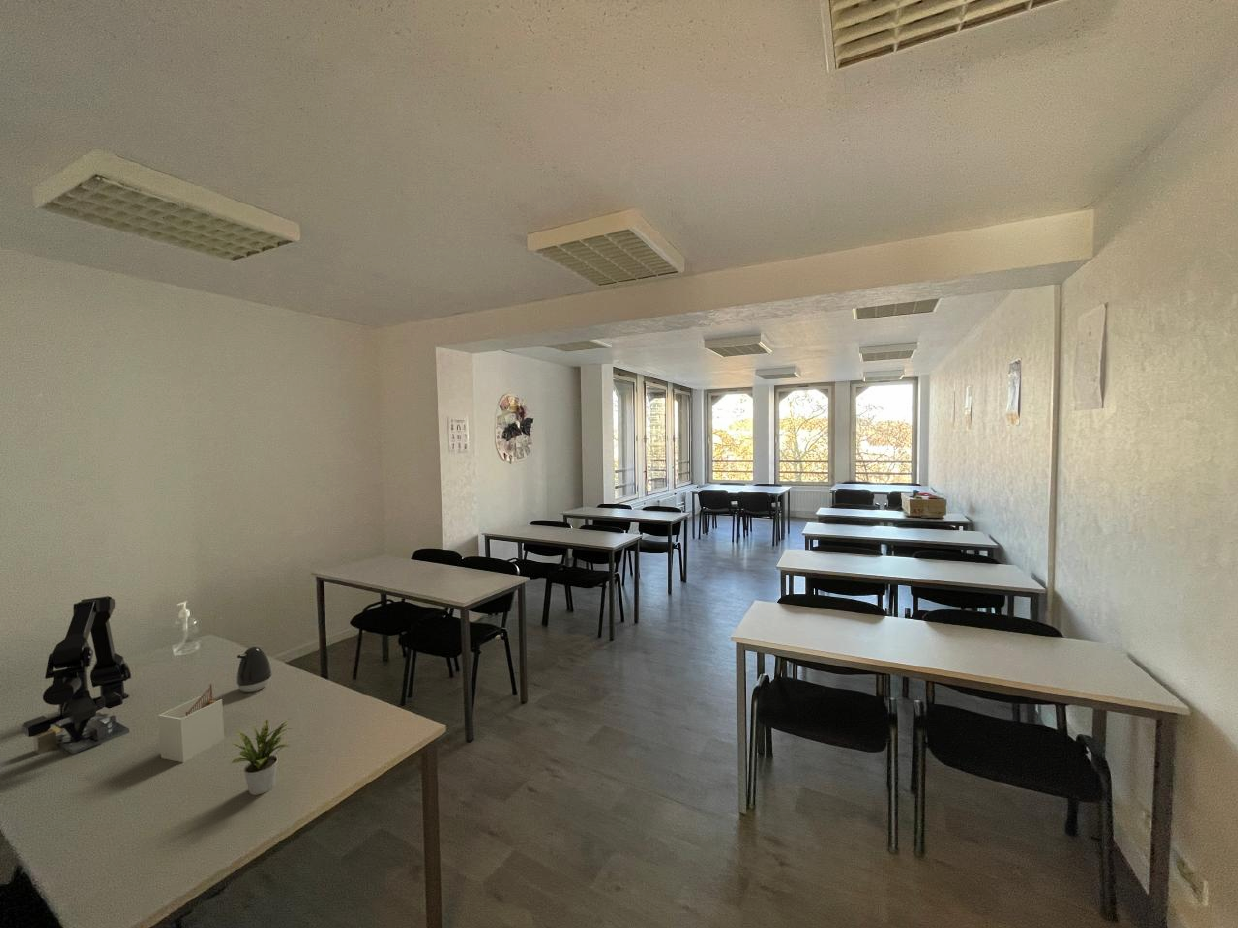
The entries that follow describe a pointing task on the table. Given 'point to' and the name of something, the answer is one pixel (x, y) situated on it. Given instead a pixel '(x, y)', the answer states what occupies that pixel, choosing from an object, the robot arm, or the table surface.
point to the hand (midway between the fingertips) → (76, 741)
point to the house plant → (260, 759)
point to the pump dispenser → (253, 670)
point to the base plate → (90, 742)
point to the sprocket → (91, 728)
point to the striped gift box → (44, 742)
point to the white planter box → (191, 728)
